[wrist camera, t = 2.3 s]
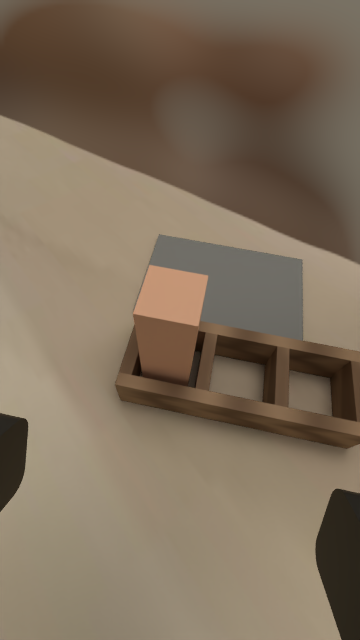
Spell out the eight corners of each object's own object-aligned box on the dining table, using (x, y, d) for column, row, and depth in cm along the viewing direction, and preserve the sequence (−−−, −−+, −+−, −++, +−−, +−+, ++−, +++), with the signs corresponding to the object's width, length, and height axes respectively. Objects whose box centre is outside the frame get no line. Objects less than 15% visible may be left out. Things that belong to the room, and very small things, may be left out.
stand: (340, 370, 35) (362, 352, 31) (346, 448, 31) (372, 438, 27) (142, 330, 37) (139, 309, 33) (120, 399, 32) (115, 384, 29)
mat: (300, 262, 44) (302, 259, 43) (301, 344, 37) (302, 341, 36) (159, 237, 45) (159, 234, 44) (134, 312, 38) (133, 309, 38)
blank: (193, 356, 35) (208, 275, 23) (186, 394, 33) (198, 326, 21) (154, 348, 36) (149, 264, 24) (144, 386, 33) (132, 313, 21)
